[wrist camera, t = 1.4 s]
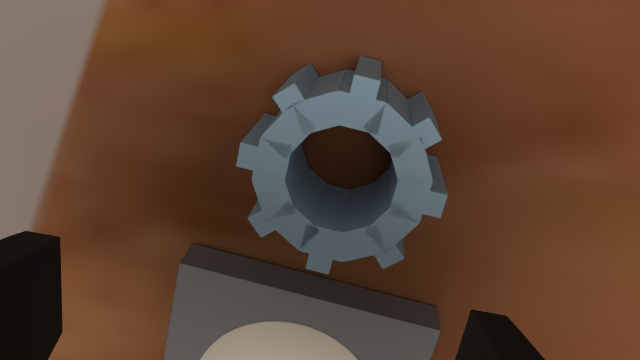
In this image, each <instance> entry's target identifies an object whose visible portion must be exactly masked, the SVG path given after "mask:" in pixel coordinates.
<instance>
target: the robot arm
mask: <svg viewBox="0 0 640 360" xmlns="http://www.w3.org/2000/svg"><path fill="white" fill-rule="evenodd" d="M61 334H62V295H61V256H60V237H57V236H51V235H46V234H40V233H34V232H29V231H24V232H21V233H18V234H15V235H12V236H9V237H7V238H4V239H1V240H0V360H48V358H49V356H50V354H51V353H52V351H53V349H54V347H55V345H56V343H57V341H58V339H59V338H60V336H61ZM455 360H545V359H544V358H543V357H542V356H541V355H540V353H539V352H538V351H537V350H536V349H535V348H534V346H533V345H532V344H531V343H530V342H529V341H528V339H527V338H526V337H525V336H524V335H523V334H522V332H521V331H520V330H519V329H518V328H517V327H516V326H515V325H514V323H513V322H512V321H511V320H510V319H509V318H508V317H507V316H505V315H499V314H493V313H488V312H482V311H476V310H471V311H470V315H469V318H468V321H467V324H466V327H465V331H464V334H463V337H462V340H461V343H460V346H459V350H458V353H457V356H456V359H455Z"/></svg>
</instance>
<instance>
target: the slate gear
mask: <svg viewBox="0 0 640 360" xmlns="http://www.w3.org/2000/svg"><path fill="white" fill-rule="evenodd" d="M381 69H382V61H380V60H376V59H372V58H368V57H364V56H360V57H359V61H358V64H357V67H356V70H355V71H354V70H350V69H345V70H341V71H338V72H334V73H331V74H327V75H324V76H320V77H319V76H318V74H317V73H316V71H315V69H314V68H313V66H312V64H311V63H310V64H308V65H307V66H305V67H303V68H302V69H300V70H299V71H297V72H295V73H294V74H292V75H291V76H290V77H289V79H288V80H287V81H286V82H285V83H284V84H283V85H282V86H281V88H280V89H279V90H278V91H277V92H276V93H275V94H274V95H273V99H274V100H275V102H276V103H277V105H278V106H279V108H280V111H279V113H278V114H277V115H276V116H274V115H270V114H266V113H265V114H264V115H263V116H262V117H261V119H260V120H259V121H258V122H257V123H256V125H255V126H254V127H253V128H252V129H251V131H250V132H249V133H248V134H247V135H246V137H245V138H244V139H243V140H242V141H241V142H240V147H239V153H238V158H237V163H236V166H237V167H241V168H245V169H249V170H253V175H252V183H253V186H254V189H255V192H256V195H257V197H258V200H257V202H256V204H255V205H254V207H253V209H252V211H251V213H250V214H249V216H248V218H247V219H248V220H249V221H250V223H251V224H252V226H253V227H254V229H255V230H256V232H257V233H258V234H259V236H260V237H261V238H262V237H263V236H265V235H267V234H269V233H271V232H273V231H275V230H276V231H277V232H278V233H279V234H281V235H282V236H283V237H284V238H285V239H286V240H287V241H288V242H290V243H291V244H292V245H293V246H294V247H295V248H296V249H297V250H300V251H301V252H305V253H309V256H308V260H307V264H306V268H305V269H309V270H313V271H317V272H320V273H324V274H328V275H329V272H330V268H331V264H332V261H333V260H336V261H340V262H342V261H343V262H346V261H351V260H355V259H360V258H364V257H369V256H373V255H374V256H375V258H376V260H377V261H378V263H379V264H380V266H381V267H382V269H385V268H387V267H389V266H391V265H393V264H395V263H397V262H399V261H401V260H403V259H404V243H403V237H405V236H406V235H407V234H408V233H409V232H410V231H411V230H413V229H414V228H415V227H416V226H417V225H418V224H419V223H420V220H421V217H422V214H425V215H429V216H433V217H436V218H441V215H442V212H443V209H444V206H445V203H446V200H447V197H448V194H447V190H446V186H445V183H444V179H443V175H442V171H441V168H440V164H439V160H438V157H436V156H432V155H428V154H427V150H426V148H428V147H430V146H432V145H433V144H435V143H437V142H439V141H441V140H442V138H441V134H440V131H439V128H438V125H437V122H436V119H435V116H434V112H433V110H432V108H431V106H430V104H429V103H428V101H427V99H426V97H425V96H424V94H423V92H422V91H421V92H419V93H417V94H416V95H414V96H412V97H410V98H409V99H407V98H406V97H405V96H404V95H403V94H402V93H401V92H400V91H399V90H398V89H397V88H396V87H395V86H394V85H393V84H392V83H391V82H390V81H389V80H388V79H387V80H386V78H382V77H381ZM339 125H340V126H344V127H348V128H352V129H356V130H360V131H364V132H368V133H370V134H371V135H372V136H373V137H374V138H375V139H376V140H377V141H378V142H379V143H380V144H381V145H382V146H383V147H384V148H385V149H386V150H387V151H389V152H390V153H391V157H392V161H391V165H390V168H389V169H388V170H386V171H385V172H384V173H383V174H382V175H381V176H380V177H379V178H378V179H377V180H376V181H375V182H374V183H373V184H369V185H365V186H361V187H357V188H353V189H346V188H342V187H338V186H334V185H330V184H326V183H325V182H324V181H323V180H322V179H321V178H320V177H319V176H318V175H316V174H315V173H314V172H313V171H312V170H311V169H310V168H309V167H308V163H307V160H306V157H305V154H304V151H303V148H302V141H303V140H304V139H305V138H306V137H307V136H308V135H309V134H310V133H313V132H316V131H320V130H324V129H328V128H331V127H335V126H339Z"/></svg>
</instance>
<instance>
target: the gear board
mask: <svg viewBox="0 0 640 360" xmlns="http://www.w3.org/2000/svg"><path fill="white" fill-rule="evenodd" d="M440 332H441V329H440V322H439V315H438V308H437V307H436V306H432V305H428V304H424V303H420V302H416V301H412V300H409V299H405V298H401V297H397V296H393V295H389V294H385V293H381V292H378V291H374V290H370V289H366V288H362V287H358V286H354V285H351V284H347V283H343V282H339V281H335V280H331V279H327V278H324V277H320V276H316V275H312V274H308V273H304V272H300V271H297V270H293V269H289V268H285V267H281V266H277V265H273V264H269V263H266V262H262V261H258V260H254V259H250V258H246V257H242V256H239V255H235V254H231V253H227V252H223V251H219V250H215V249H212V248H208V247H204V246H200V245H196V244H193V245H192V246H191V248H190V249H189V250H188V252H187V253H186V255H185V256H184V258H183V259H182V260H181V262H180V264H179V270H178V276H177V282H176V288H175V294H174V300H173V306H172V312H171V318H170V324H169V330H168V336H167V342H166V348H165V354H164V360H431V357H432V354H433V351H434V349H435V346H436V343H437V340H438V337H439V335H440Z"/></svg>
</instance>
